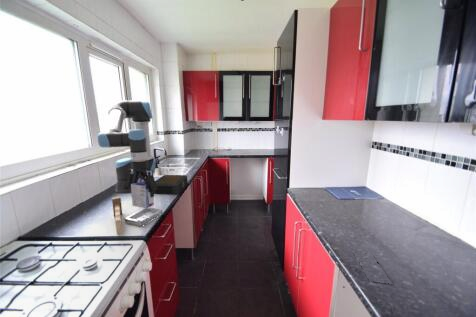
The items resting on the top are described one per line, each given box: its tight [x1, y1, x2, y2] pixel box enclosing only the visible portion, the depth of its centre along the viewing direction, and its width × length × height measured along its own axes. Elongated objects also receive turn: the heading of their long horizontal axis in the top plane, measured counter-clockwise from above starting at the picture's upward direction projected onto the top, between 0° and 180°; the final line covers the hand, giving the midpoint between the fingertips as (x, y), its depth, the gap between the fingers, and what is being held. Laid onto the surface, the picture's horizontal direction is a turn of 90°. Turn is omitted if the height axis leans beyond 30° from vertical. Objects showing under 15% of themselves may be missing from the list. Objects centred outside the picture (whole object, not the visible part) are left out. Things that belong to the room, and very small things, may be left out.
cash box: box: [154, 174, 189, 196], centre depth 154 cm, size 25×20×8 cm
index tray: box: [124, 206, 163, 227], centre depth 108 cm, size 15×11×2 cm
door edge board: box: [111, 196, 123, 235], centre depth 102 cm, size 24×4×10 cm, turn 31°
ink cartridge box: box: [130, 178, 155, 209], centre depth 106 cm, size 10×6×14 cm, turn 71°
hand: (143, 201), depth 107 cm, fingers closed on ink cartridge box, 10 cm apart
